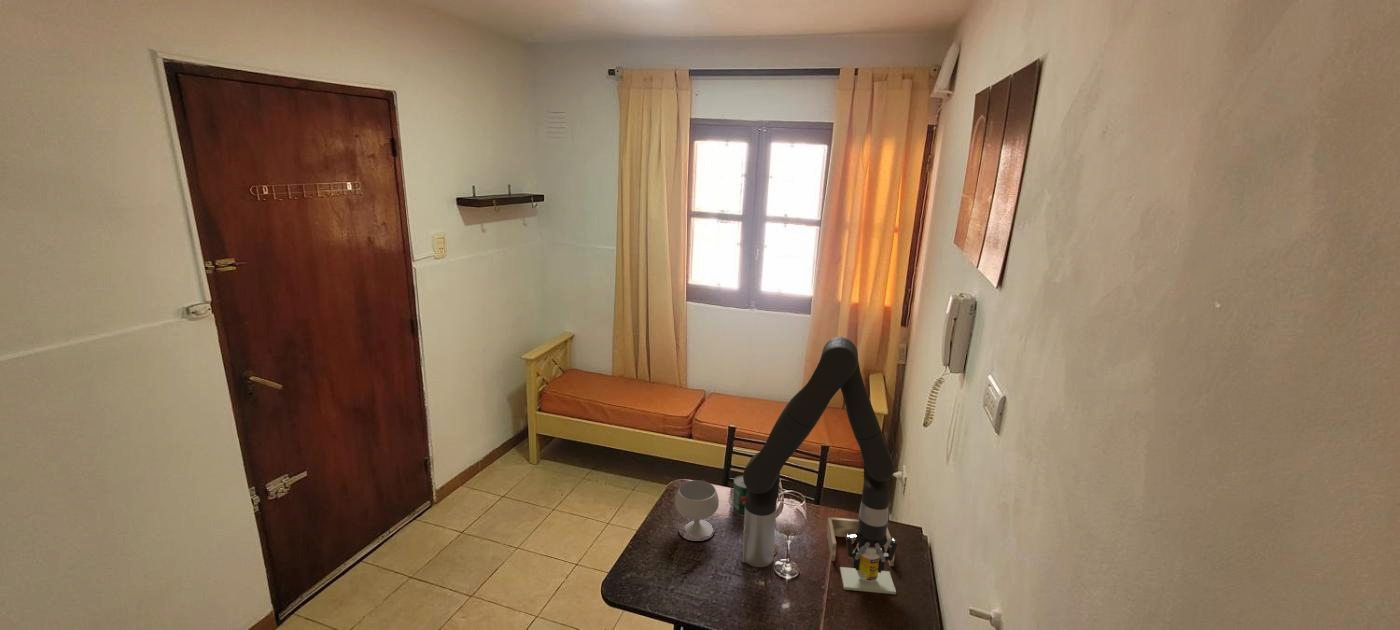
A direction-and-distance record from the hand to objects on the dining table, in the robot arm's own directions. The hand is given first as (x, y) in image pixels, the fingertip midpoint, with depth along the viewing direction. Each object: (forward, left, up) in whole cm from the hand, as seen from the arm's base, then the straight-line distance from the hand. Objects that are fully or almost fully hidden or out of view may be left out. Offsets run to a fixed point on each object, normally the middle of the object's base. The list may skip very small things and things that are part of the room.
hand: (867, 569), depth 148 cm
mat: (0, 0, -4) cm, 4 cm away
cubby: (0, +14, -4) cm, 15 cm away
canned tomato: (-36, +30, -4) cm, 47 cm away
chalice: (-51, +16, -4) cm, 54 cm away
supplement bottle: (0, 0, -2) cm, 2 cm away
